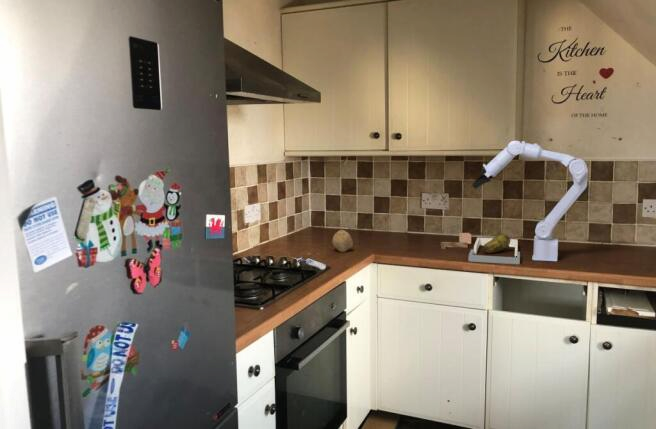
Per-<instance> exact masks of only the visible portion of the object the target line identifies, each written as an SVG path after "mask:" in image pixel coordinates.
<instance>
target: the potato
mask: <svg viewBox="0 0 656 429" xmlns="http://www.w3.org/2000/svg"><path fill="white" fill-rule="evenodd" d="M492 238H493V239H492V240H491V241H489V242H487V243H486V244H485V245H482V251H483V252H484V253H486V254H494V253H497V252H500V251H502V250H503V249H506V248H509V244H510V239H511V238H510V236H509V235H507V234H503V233H502V234H498V235H496V236H495V237H492Z"/></svg>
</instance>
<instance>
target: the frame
mask: <svg viewBox="0 0 656 429" xmlns="http://www.w3.org/2000/svg"><path fill="white" fill-rule="evenodd" d="M468 262H474V263H488V264H489V263H491V264H507V265H520V262H521V252H520V251H517V257H516V256H514V257H512V256H499V255H497V256H496V255H495V256H494V255H479V254H474V248H471V249H470V250H469V253H468Z"/></svg>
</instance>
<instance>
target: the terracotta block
mask: <svg viewBox="0 0 656 429" xmlns="http://www.w3.org/2000/svg"><path fill="white" fill-rule="evenodd" d="M458 234H459V238H458V239H459V240H458V242H467V243H468V244H469V245H470V244H472V234H471V233H470V232H459V233H458Z"/></svg>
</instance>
